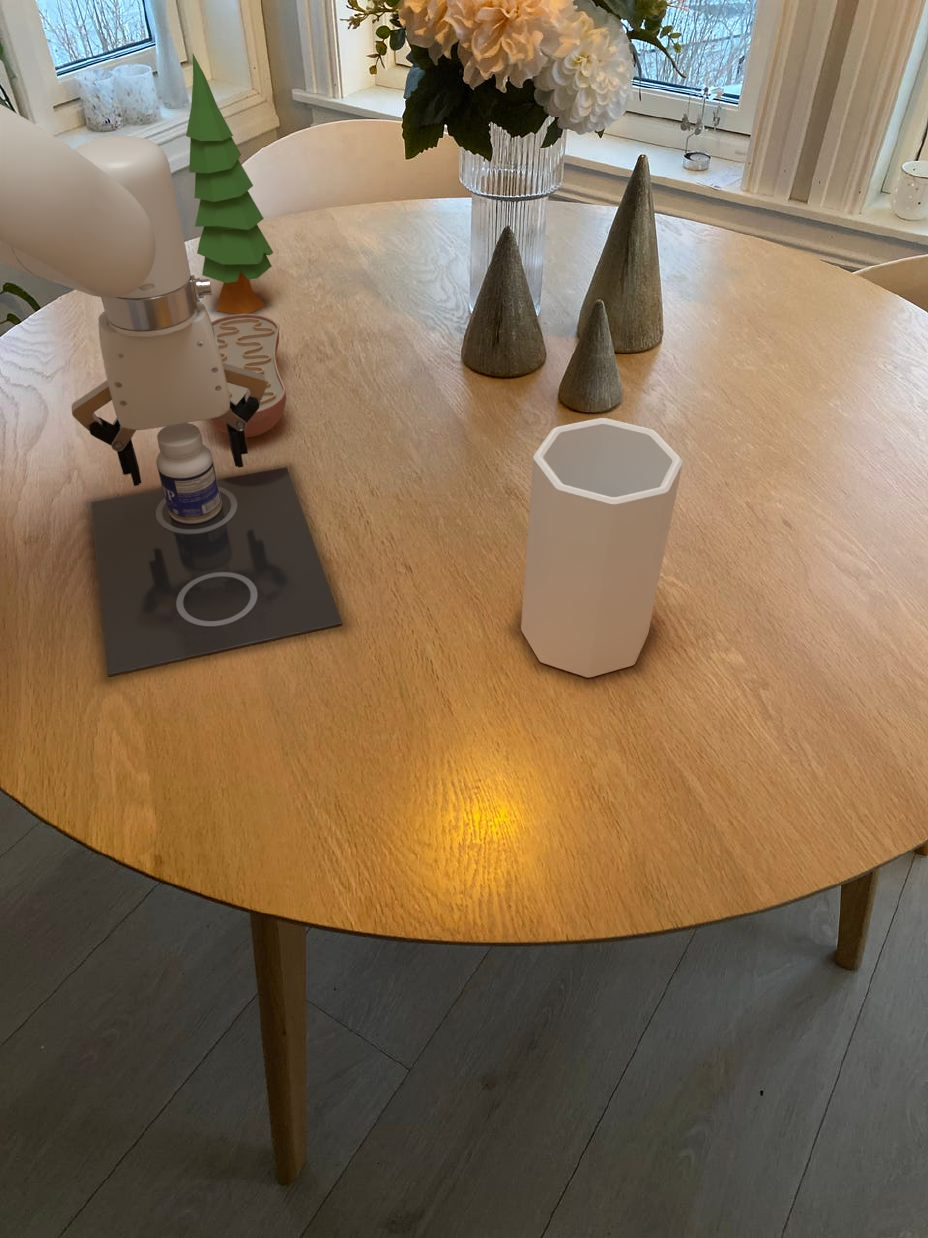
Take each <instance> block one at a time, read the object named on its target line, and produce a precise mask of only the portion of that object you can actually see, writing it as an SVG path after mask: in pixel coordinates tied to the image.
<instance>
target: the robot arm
mask: <svg viewBox="0 0 928 1238" xmlns="http://www.w3.org/2000/svg"><path fill="white" fill-rule="evenodd" d="M170 166H171V165H170V161H169V159H168V156H167V154H166V153H165V151H164V150H163V149H162V148H161V147H160V146H159V144H157V143H156V142H154V141H153V140H150V139H148V138H144V137H139V136H133V135H111V136H104V137H97V138H95V139H91V140H89V141H86V142H84V143H82V144H80V145H78V146H77V147H76V148H73V147H71V146H70V145H68V144H67V143H65V142H64V141H62V139H60V138H58V137H57V136H55V135H53V134H52V133H50V132H49V131H47V130H45V129H44V128H43V127H40V126H39V125H37V124H35V123H34V122H32V121H30V120H29V119H27V118H25V117H24V116H22V115H20V114H19V113H17V112H15V111H13V110H12V109H10V108H8V107H7V106H5V105H3V104H1V103H0V264H1V265H3V266H6V267H8V268H10V269H12V270H13V269H14V270H17V271H19V272H22V273H25V274H27V275H31V276H33V277H36V278H39V279H43V280H47V281H50V282H52V283H56V284H59V285H61V286H64V287H67V288H71V289H72V290H76V291H77V292H81V293H83V294H86V295H89V296H93V297H97V298H100V299H101V303H102V306H103V310H104V311H103V312H101V313H100V314H99V316H98V336H99V344H100V351H101V356H102V357H101V358H102V361H103V367H104V371H105V376H106V380H104V381H103V382H102V383H100V384H99V385H97V386H96V387H94V388H93V389H92V390H90V391H89V392H88V393H86V394H84V395H83V396H82V397H80V398H78V399H77V400H76V401H74V402H73V403H72V404H71V415H72V417H73V418H74V419H75V420H76V421H77V422H78V423H80V425H81V426H83V427H84V428H85V429H86V430H87V431H89V434H90V435H91V436H92V437H94V438H96V439H98V440H99V441H101V442H104V443H105V444H107V445H109V446H110V447H111V449H112V450H113V451H115V452H116V453H117V456H118V461H119V464H120V467H121V468H120V469H121V471H122V474H123V476H127V475H130V476H131V480H132V484H133V486H134V487H138V486H140V485H141V484H142V478H141V472H140V467H139V462H138V458H137V455H136V452H135V447H134V444H133V441H132V437H133V436H134V434H135V433H136V431H144V430H150V429H151V430H152V429H157V428H164V427H166V426H171V425H177V424H183V423H194V422H195V423H196V422H201V421H207V420H210V419H212V418H216V417H219V418H220V419H222V420H223V421H224V422H226V425H227V431H228V434H227V436H228V440H229V447H230V452H231V455H232V459H233V463H234V466H235V467H236V468H239V469H240V468H244V462H243V457H242V455H247V454H249V451H248V445H247V440H246V437H245V433H244V430H245V429H246V427H247V424H246V423H247V422H248V421H249V420H250V419H251V417H252V416H253V415H254V414H255V413H256V411H257V410H258V409H259V403H260V401H261V400H262V397H263V395H264V392H265V390H266V387H267V382H266V380H265V377H264V376H263V375H262V374H259V373H256V372H252V371H249V370H246V369H242V368H239V367H235V366H232V365H229V364H225V363H222V359H221V355H220V351H219V347H218V342H217V339H216V335H215V332H214V329H213V325H212V320H211V319H212V318H211V317H210V314H209V312H208V310H207V307H206V305H205V303H204V302H203V301H201V300H200V299H203V298H204V296H205V297H206V296H212V295H213V292H212V291H213V290H212V286H211V281H210V278H205V279H204V278H203V279H200V277H198V278H197V277H195V274H191V273H192V272H191V268H190V263H189V258H188V253H187V248H186V241H185V238H184V233H183V226H182V221H181V217H180V212H179V206H178V201H177V196H176V191H175V190H176V189H175V186H174V180H173V175H172V170H171V167H170ZM227 383H231V384H235V385H238V386H242V387H245V388H248V389H247V393H246V394H245V395H244V396H243V397H242V399H241V400H240V401H239V402H238V403H237V404H236V403H234V402H233V401H232V400H230V399H229V391H228V385H227ZM110 402H112V403H111V404H112V406H113V410H114V413H115V416H116V417H115V418H114V420H113V422H112V423H111V422H109V421H107V420H105V419H104V418H102V417H100V416H98V415H96V413H95V412H97V411H98V410H99V409H101V408H102V407H104V406H105V405H107V404H109V403H110Z"/></svg>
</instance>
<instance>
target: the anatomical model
mask: <svg viewBox="0 0 928 1238" xmlns="http://www.w3.org/2000/svg"><path fill="white" fill-rule="evenodd" d="M211 322H212V325H213V329H214V332H215V335H216V339H217V342H218V347H219V351H220V355H221V359H222V363H225V364H229V365H232V366H235V367H239V368H242V369H246V370H249V371H252V372H256V373H259V374H262V375H263V376H264V377H265V380H266V382H267V387H266V390H265V392H264V395H263V397H262V400H261V401H260V403H259V409H258V410H257V411H256V413H255V414H254V415H253V416H252V417H251V419H250V420H249V421H248V422H247V423H246V424H247V427H246V429H245V430H244V433H245V438H252V437H257V436H261V435H263V434H264V433H265V434H266V433H267V432H268V431H270V430H271V429H272V428H273V427H274V426H275V425H277V423H278V422H279V420H280V419H281V416H282V415H283V412H284V410H285V406H286V400H287V391H286V387H285V384H284V382H283V380H282V377H281V374H280V372H279V369H278V365H277V353H278V348H279V343H280V327H279V325H278V323H277V322H276V321H274V320H273V319H272V318H270V317H267V316H265V315H260V314H255V313H249V314H230V315H226V316H222V317H219V318H216V319H214V320H211ZM227 385H228V391H229V399H230V400H232V401H233V402H234V403H236V404H237V403H238V402H239V401H240V400H241V399H242V397H243V396H244V395H245V394H246V393H247V389H248V388H245V387H242V386H238V385H235V384H231V383H227ZM209 420H210V422H211V423H212V424H213V425H214V426H215V427H216V428H217V429H219V430H220V431H221V432H223V433H225V434H227V435H228V431H227V425H226V422H224V421H223V420H222V419H220V418H219V417H216V418H212V419H209Z"/></svg>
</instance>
